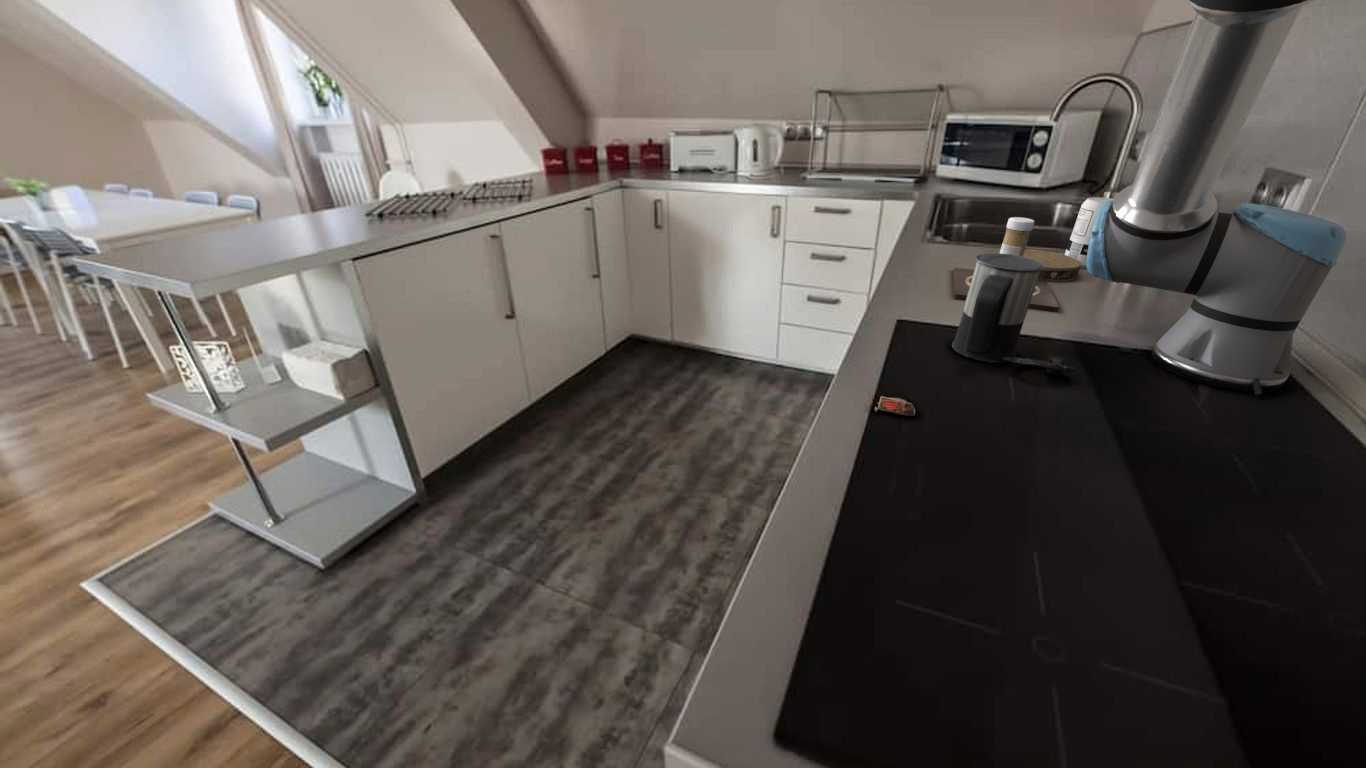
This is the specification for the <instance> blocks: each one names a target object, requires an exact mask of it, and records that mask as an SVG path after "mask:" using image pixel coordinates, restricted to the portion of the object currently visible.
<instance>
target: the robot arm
mask: <svg viewBox="0 0 1366 768" xmlns="http://www.w3.org/2000/svg"><path fill="white" fill-rule="evenodd" d="M1185 1H1186V2H1187V4H1188V5H1189V6H1190V7H1191V8H1192V9H1193V10H1194V12H1195V13H1194V16H1193V19H1192V21H1191V25H1190V26H1189V29H1188V33H1187V35H1186V37H1185V41H1184V42H1183V46H1182V48H1181V51H1180V54H1179V57H1178V60H1177V62H1176V64H1175V65H1176V66H1175V68H1174V71H1173V73H1172V76H1171V79H1170V82H1169V84H1168V87H1167V89H1166V92H1165V96H1164V98H1163V100H1162V103H1161V107H1160V109H1159V112H1158V114H1157V117H1156V120H1155V123H1154V125H1153V128H1152V131H1151V133H1150V136H1149V139H1148V142H1147V145H1146V147H1145V150H1144V152H1143V156H1142V158H1141V161H1140V163H1139V166H1138V169H1137V172H1136V173H1135V177H1134V180H1133V183H1131V184H1129V185H1128V186H1126V187H1124V188H1123V189H1121V190H1120V191H1119V192H1118V193H1117V194H1116V195H1115V196H1114V198H1113V199H1114V200H1112V201H1106V202H1104V203H1103V204H1102V206H1101V207H1100V209H1099V212H1098V214H1097V217H1096V220H1095V223H1094V226H1093V231H1092V235H1091V238H1090V242H1089V247H1088V253H1087V262H1086V263H1087V268H1086V269H1087V272H1088V273H1089V274H1090V275H1091V276H1093V277H1095V278H1098V279H1102V280H1107V281H1110V282H1112V283H1116V284H1120V283H1122V284H1127V285H1134V286H1139V287H1140V286H1141V287H1146V288H1152V289H1157V290H1158V289H1159V290H1164V291H1169V292H1175V293H1181V294H1187V295H1192V296H1194V297H1193V300H1192V301H1191V304H1190V306H1189V307H1188V309H1187V311H1186V312H1185V313H1184V314H1183V315H1182V316H1181V317H1180V318H1179V319H1178V320H1177V321H1176V322H1175V323H1174V324H1173V325H1172V326H1171V327H1170V328H1169V329H1168V330H1167V331H1166V332H1165V333H1164V334H1163V335H1162V337H1160V338H1159V340H1157V341H1156V343H1155V346H1154V348H1153V350H1152V352H1151V357H1152V359H1153V360H1154V361H1155V362H1156V363H1157V364H1159V365H1160V366H1162V367H1163V368H1165V369H1167V370H1168V371H1171V372H1173V373H1175V374H1177V375H1179V376H1181V377H1185V378H1186V379H1190V380H1192V381H1196V382H1199V383H1202V384H1205V385H1210V386H1213V387H1218V388H1221V389H1227V390H1234V391H1239V392H1240V391H1241V392H1248V393H1249V392H1250V393H1254V395H1255V396H1262V395H1264V394H1263V393H1269V392H1276V391H1279V390H1280V389H1281V388H1283V387H1284V385H1285V383H1286V381H1287V380H1288V378H1289V376H1290V371H1291V369H1290V368H1291V360H1292V350H1293V339H1294V334H1295V331H1296V330H1297V328H1298V327H1299V325H1300V322H1301V321H1302V319H1303V317H1304V316H1305V315H1306V313H1307V311H1308V309H1309V307H1310V305H1312V302H1313V300H1314V299H1315V297H1316V295H1317V294H1318V292H1319V290H1320V288H1321V287H1322V285H1323V283H1324V282H1325V280H1326V279H1327V276H1328V275H1329V273H1330V271H1331V270H1332V268H1334V267H1336V265H1337V263H1338V261H1337V260H1338V258H1339V257H1340V254H1341V252H1342V249H1343V248H1344V245H1345V243H1346V241H1347V237H1348V236H1347V231H1346V229H1344V228H1343V226H1341V225H1340V224H1338V223H1336V222H1334V221H1332V220H1329V219H1325V218H1322V217H1319V216H1315V215H1311V214H1308V213H1304V212H1300V211H1296V210H1291V209H1287V208H1282V207H1277V206H1272V205H1266V204H1258V203H1257V204H1256V203H1251V202H1245V203H1244V202H1243V203H1240V204H1238V206H1236V207H1235V208H1234V209H1233V211H1232V213H1228V212H1219V211H1218V201H1217V197H1215V196H1214V194H1213V193H1212V190H1213V188H1214V186H1215V184H1216V182H1217V180H1218V178H1219V176H1220V174H1221V172H1222V170H1223V168H1224V166H1225V164H1226V162H1227V160H1228V158H1229V156H1230V153H1231V152H1232V149H1233V148H1234V145H1235V144H1236V141H1237V140H1238V137H1239V135H1240V133H1241V131H1242V130H1243V127H1244V125H1245V122H1246V121H1247V119H1248V117H1249V116H1250V113H1251V111H1252V109H1253V107H1254V105H1255V103H1256V101H1257V99H1258V97H1259V95H1260V93H1261V91H1262V88H1263V87H1264V85H1265V82H1266V81H1267V79H1268V77H1269V74H1270V72H1271V71H1272V68H1273V66H1274V64H1275V62H1276V60H1277V58H1278V56H1279V54H1280V52H1281V51H1282V48H1283V46H1284V44H1285V42H1286V40H1287V38H1288V36H1289V34H1290V32H1291V30H1292V28H1293V26H1294V24H1295V22H1296V19H1297V18H1298V16H1299V14H1300V11H1301V9H1302V8H1305V6H1307V5H1309V4H1311V3H1313V2H1315V0H1185Z"/></svg>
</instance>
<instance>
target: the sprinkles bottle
mask: <svg viewBox="0 0 1366 768" xmlns="http://www.w3.org/2000/svg"><path fill="white" fill-rule="evenodd" d="M1034 225H1035V220H1034V219H1031V218H1028V217H1019V216H1013V217H1009V218H1008V220H1007V223H1006V229H1005V230H1006V231H1005V233H1004V237H1003V241H1002V242H1001V247H1000V250H999V253H1000V254H1009V255H1014V256H1021V257H1023V255H1024V252H1025V249H1027V245H1028V242H1029V239H1030V235H1031V233H1032V231H1033V229H1034Z"/></svg>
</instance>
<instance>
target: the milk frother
mask: <svg viewBox="0 0 1366 768" xmlns="http://www.w3.org/2000/svg"><path fill="white" fill-rule="evenodd" d="M975 260H976V264H975V267H974V269H973V270H974V274H973V277H972V281H971V284H970V288H969V292H968V295H967V299H966V300H965V303H964V307H963V311H962V313H961V317H960V322H959V325H958V328H957V330H956V333H955V336H954V340H952V343H951V347H952V349H953V350H954V351H955V352H957V353H958V354H960V355H962V356H963V357H967V358H969V359H971V360H972V359H973V360H975V361H979V362H982V363H992V364H993V363H994V364H1004V363H1014V364H1018V365H1024V366H1028V367H1033V368H1034V367H1035V368H1041V369H1045V370H1046V374H1047V375H1049V376H1050V375H1051V376H1061V375H1062V374H1063V372H1065V373H1074V372H1075V369H1076V367H1074V366H1071V365H1068V364H1065V359H1064V358H1062V357H1057V356H1056V357H1055V356H1051V357H1049V358H1048V360H1042V359H1035V358H1022V357H1016V349H1017V346H1018V343H1019V338H1020V336H1021V331H1022V329H1023V325H1024V322H1025V319H1026V316H1027V313H1028V311H1029V308H1028V307H1029V304H1030V301H1031V298H1032V295H1033V293H1034V289H1035V286H1036V283H1037V280H1038V277H1039V274H1040V271H1041V270H1042V269H1044V265H1043V264H1042V263H1041V262H1038V261H1036V260H1033V259H1030V258H1026V257H1021V256H1014V255H1009V254H1000V252H999V253H997V252H990V253H988V252H987V253H979V254H977V255H976V256H975Z"/></svg>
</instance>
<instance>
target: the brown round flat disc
mask: <svg viewBox="0 0 1366 768" xmlns="http://www.w3.org/2000/svg"><path fill="white" fill-rule="evenodd" d="M1023 257H1026V258H1030V259H1033V260H1036V261H1038V262H1041V263H1042V264H1043V265H1044V269H1042V270H1041V271H1040V274H1039V277H1042V278H1044V279H1045V281H1046V282H1055V283H1057V282H1058V283H1060V282H1062V283H1063V282H1070V281H1074V280H1076V279H1077V278H1078V275H1079V273H1080V270H1081V268H1080V267H1081V262H1080V261H1078V260H1077V259H1075V258H1072V257H1070V256H1066V255H1065V254H1064V253H1063V254H1062V253H1058V252H1054V251H1047V250H1042V249H1041V250H1040V249H1031V248H1026V249H1025V252H1024V255H1023Z"/></svg>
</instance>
